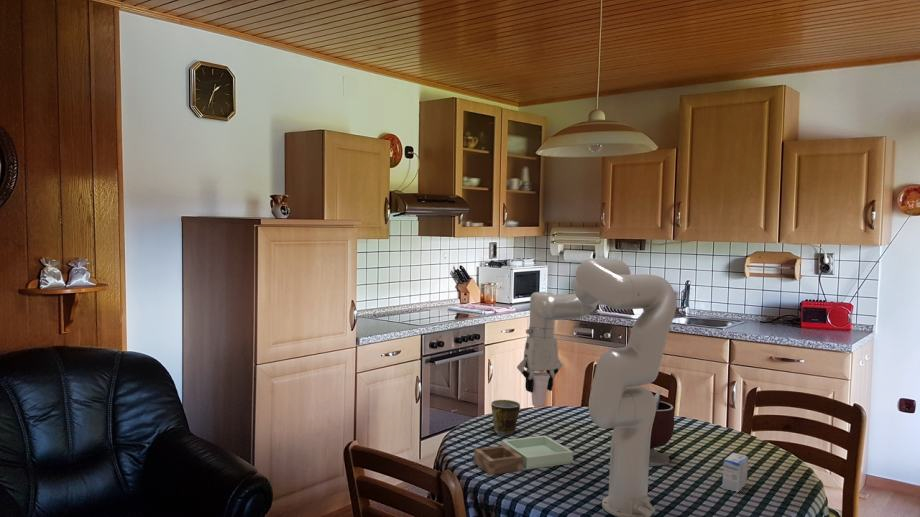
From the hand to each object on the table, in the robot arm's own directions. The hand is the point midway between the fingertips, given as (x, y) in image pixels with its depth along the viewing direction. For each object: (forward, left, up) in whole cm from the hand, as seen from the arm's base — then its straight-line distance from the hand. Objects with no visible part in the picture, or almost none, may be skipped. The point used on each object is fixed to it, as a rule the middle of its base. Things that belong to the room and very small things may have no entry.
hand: (539, 390), depth 199 cm
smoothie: (0, 0, -5) cm, 5 cm away
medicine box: (-39, -41, -21) cm, 60 cm away
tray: (0, 0, -21) cm, 21 cm away
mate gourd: (-12, -34, -21) cm, 42 cm away
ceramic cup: (+24, -1, -21) cm, 32 cm away
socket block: (-3, +15, -21) cm, 26 cm away
